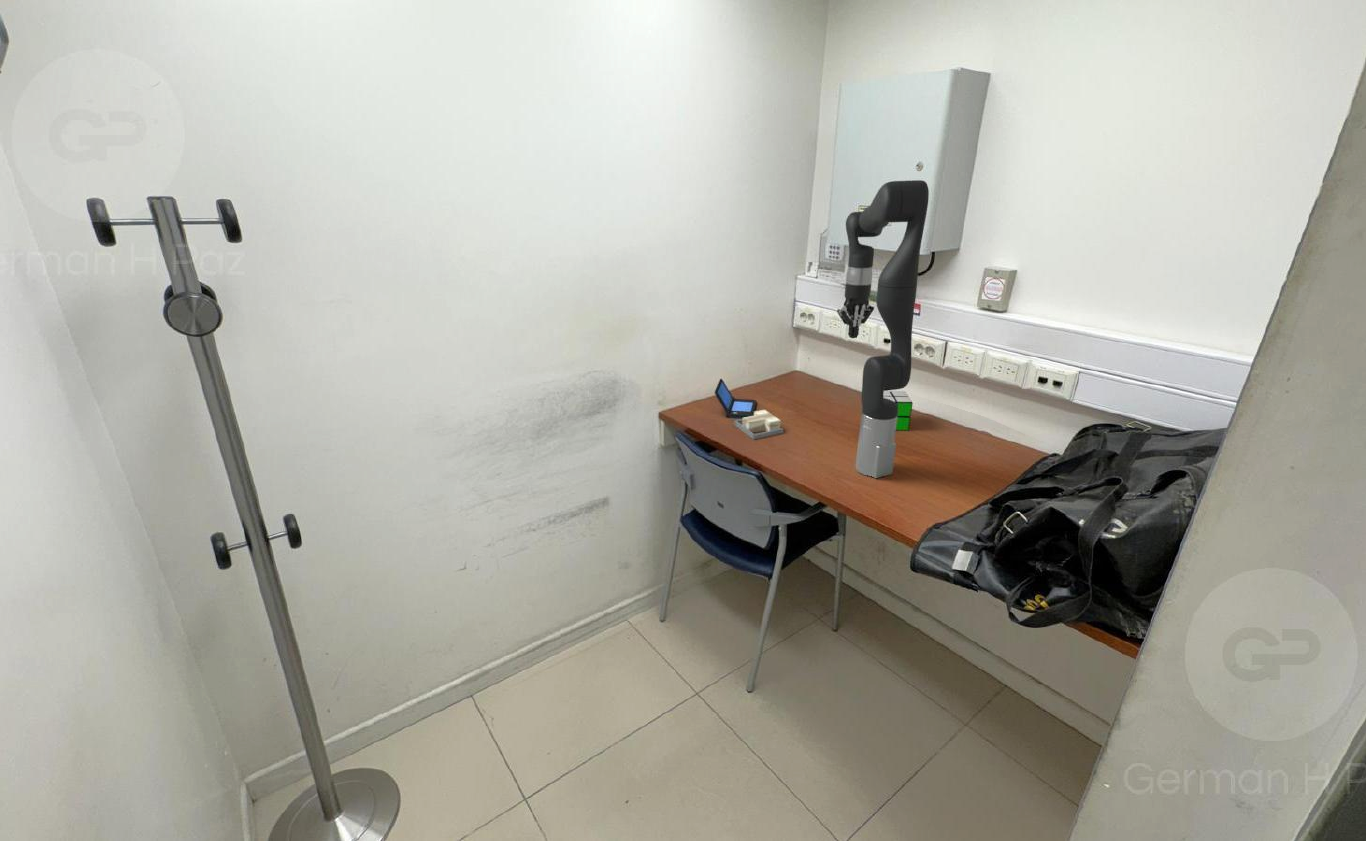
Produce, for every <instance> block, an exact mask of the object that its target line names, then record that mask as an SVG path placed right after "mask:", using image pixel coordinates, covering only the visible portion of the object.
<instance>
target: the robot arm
mask: <svg viewBox="0 0 1366 841" xmlns="http://www.w3.org/2000/svg"><path fill="white" fill-rule="evenodd" d="M928 185H929V184H927V182H926V181H925V180H922V179H919V180H918V179H917V180H893V181H888V182H886V183H884V184H883V185H881V186H880V188H879V189H878V191H877V192H876V194H875V195H874V197H873V200H872V202H871V203H870V205H869V206H867V207H865V209H864V210H862V211H853V212H850V213H849V215H848V216H847V217H846V220H845V231H846V236H847V240H848V250H849V252H848V263H847V271H846V275H845V276H846V278H845V284H844V285H845V287H844V298H845V300H844V302H843V306H842V308H838V309H837V310H836V313H837V314H838V316H839V318H840V319H841V321H842V323H843V324H844V325H847V326H848V333H847V335H848V337H849V338H851V339H857V338H858V336H859V333H860V332H859V329H860V327H861V325H862V324H866V322H867V321H868V319H869V318H870V316H871V315H872V313H873V312H874V310H875V306H872V305H871V304H869V303H870V301H869V299H870V297H871V290H872V282H873V267H874V266H873V264H874V256H875V248H874V247H873V246H871V245H868V244H867V245H866V244H862V243H860V241H859V238H874V237H878V236H880V235H881V234H882V232H883V230H884V228H885V227H886V226H888V224H890V223H906V228H905V233H904V235H903V238H902V240H901V243H900V245H899V246H898V248H897V250H895V252H894V254H893V255H892V256H891V258H890V259H889V261H888V262H887V263H886V265H885V266H884V268H883V269H882V271H881V272H880V275H879V277H878V280H877V287H876V288H877V289H876V290H877V292H876V300H875V301H876V307H877V310H878V312H879V315H880V317H881V319H882V320H883V322H884V324H885V326H886V329H887V330H888V333H889V335H890V336H889V337H890V352H889V354H888V355H876V356H872V357H871V356H870V357H869V358H867V359H866V361H865V362H864V365H863V371H862V382H861V383H862V384H861V385H862V386H861V406H862V409H861V417H860V426H859V432H858V434H859V435H858V442H857V450H856V451H857V452H856V458H855V470H856V471H857V472H858V473H860V474H861V475H864V476H867V475H868V476H867V477H871V476H872V477H871V478H873V477H874V478H873V479H878V478H882V476H883V477H887V476H890V475H892V474H893V470H894V464H895V457H896V451H897V442H895V435H896V431H897V430H896V423H897V416H898V405H897V404H896V403H895V402H894V401H892V400H889V399H886V398H883V394H884V391H897V390H901V389H905V388H906V387H907V385H908V384H909V382H910V380H911V374H912V338H913V337H912V336H913V335H912V334H913V323H914V312H915V305H916V297H917V291H918V290H917V288H918V287H917V286H918V276H919V275H918V274H919V264H920V263H919V262H920V255H921V254H920V253H921V247H922V242H923V235H924V230H925V224H926V219H927V214H928V213H927V212H928V206H929V200H930V199H929V198H930V197H929V196H930V193H929V192H930V190H929V186H928Z"/></svg>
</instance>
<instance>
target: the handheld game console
mask: <svg viewBox="0 0 1366 841" xmlns="http://www.w3.org/2000/svg"><path fill="white" fill-rule="evenodd" d="M714 395H715V396H716V398H717V400H718V402H719V403H720V405H721V407H722V408H723V410H724V412H725V413H726V414H725V417H726V418H734V419H735V418H737V419H743V418H744V417H749V416H754V411H756V410H755V409H756V408H757V400H755V399H749V398H748V399H747V398H735V396H733V395H732V393H731V391H730V390H729V388H728V386H727V384H726V383H725V382H724V380H723V378H720V379H719V381H718V383H717V386H716V388H715V390H714Z"/></svg>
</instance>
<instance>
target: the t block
mask: <svg viewBox="0 0 1366 841" xmlns="http://www.w3.org/2000/svg"><path fill="white" fill-rule="evenodd" d="M742 419H743V422H742V424H741V425H743V426H744V427H745V428H747V429H748V430H749V431H751V432H752V433H753V434H755V433H758V432H759V433H760V432H767V431H772V430H776V429H781V422H782V421H781V419H779V418H778V417H776V416H774V414H771V413H770V412H769V411H768V410H767V409H761V410H755V411H754V416H749V417H744V418H742Z"/></svg>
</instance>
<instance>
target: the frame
mask: <svg viewBox="0 0 1366 841" xmlns="http://www.w3.org/2000/svg"><path fill="white" fill-rule="evenodd" d="M742 422H743V418H738V419H736V420H733V426H735V427H736V428H737V429H738V430H740V431H742V432H743V433H745V434H746V435H747V436H748V437H750V438H751V439H752V440H754V441H755V440H759V439H763V438H767V437H771V436H776V435H780V434H784V428H782V427H780V429H776V430H772V431H767V432H766V431H761V432H759V433H758V432H757V433H752V432H751V431H749V430H748V429H747V428H745V427H744V426H743V425H742Z"/></svg>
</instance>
